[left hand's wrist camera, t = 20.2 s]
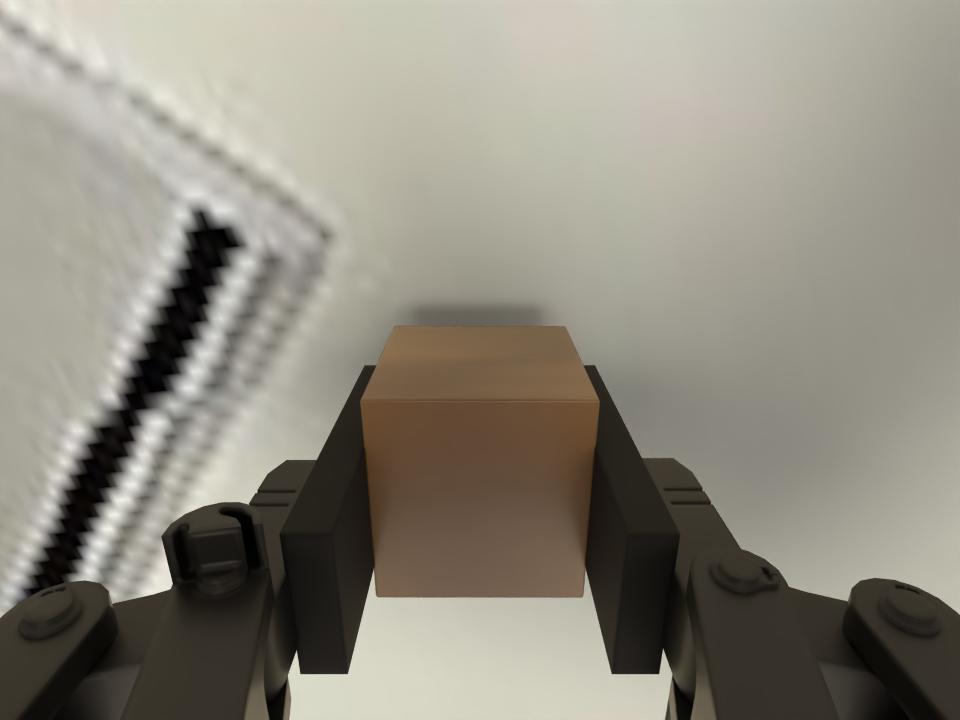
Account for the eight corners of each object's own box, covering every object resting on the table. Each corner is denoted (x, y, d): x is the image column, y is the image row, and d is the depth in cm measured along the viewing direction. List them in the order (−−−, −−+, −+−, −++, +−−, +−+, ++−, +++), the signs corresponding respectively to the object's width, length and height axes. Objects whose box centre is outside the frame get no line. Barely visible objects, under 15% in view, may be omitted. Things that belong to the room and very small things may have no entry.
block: (566, 325, 14) (600, 400, 10) (556, 480, 16) (583, 598, 12) (393, 325, 14) (359, 399, 10) (402, 480, 16) (375, 598, 12)
